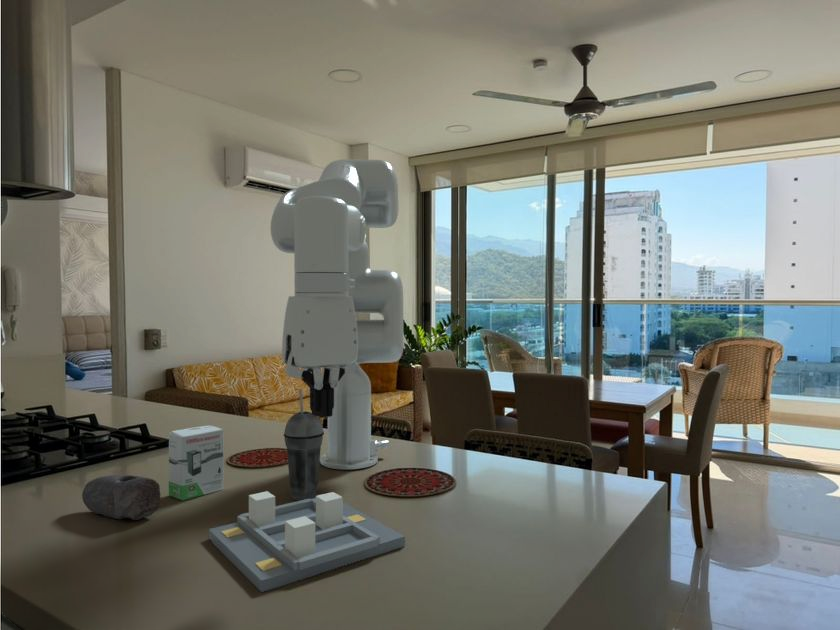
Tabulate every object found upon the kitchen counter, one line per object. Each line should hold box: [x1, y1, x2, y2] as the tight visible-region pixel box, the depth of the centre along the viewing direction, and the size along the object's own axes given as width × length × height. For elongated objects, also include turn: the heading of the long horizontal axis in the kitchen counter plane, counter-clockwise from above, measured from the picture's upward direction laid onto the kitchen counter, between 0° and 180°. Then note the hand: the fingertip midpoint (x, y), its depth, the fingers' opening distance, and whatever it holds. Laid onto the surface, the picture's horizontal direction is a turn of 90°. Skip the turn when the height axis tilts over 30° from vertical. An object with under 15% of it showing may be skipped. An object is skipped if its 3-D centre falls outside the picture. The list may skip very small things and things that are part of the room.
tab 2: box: [285, 516, 315, 559], centre depth 79 cm, size 3×3×4 cm
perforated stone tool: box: [81, 474, 162, 521], centre depth 97 cm, size 15×5×7 cm, turn 69°
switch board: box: [208, 498, 406, 593], centre depth 87 cm, size 22×21×2 cm
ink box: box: [168, 425, 224, 501], centre depth 108 cm, size 9×5×12 cm, turn 140°
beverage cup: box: [283, 388, 325, 501], centre depth 106 cm, size 7×7×20 cm
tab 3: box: [315, 491, 344, 529], centre depth 89 cm, size 3×3×4 cm
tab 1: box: [248, 490, 276, 527], centre depth 89 cm, size 3×3×4 cm
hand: (322, 415), depth 83 cm, fingers closed
